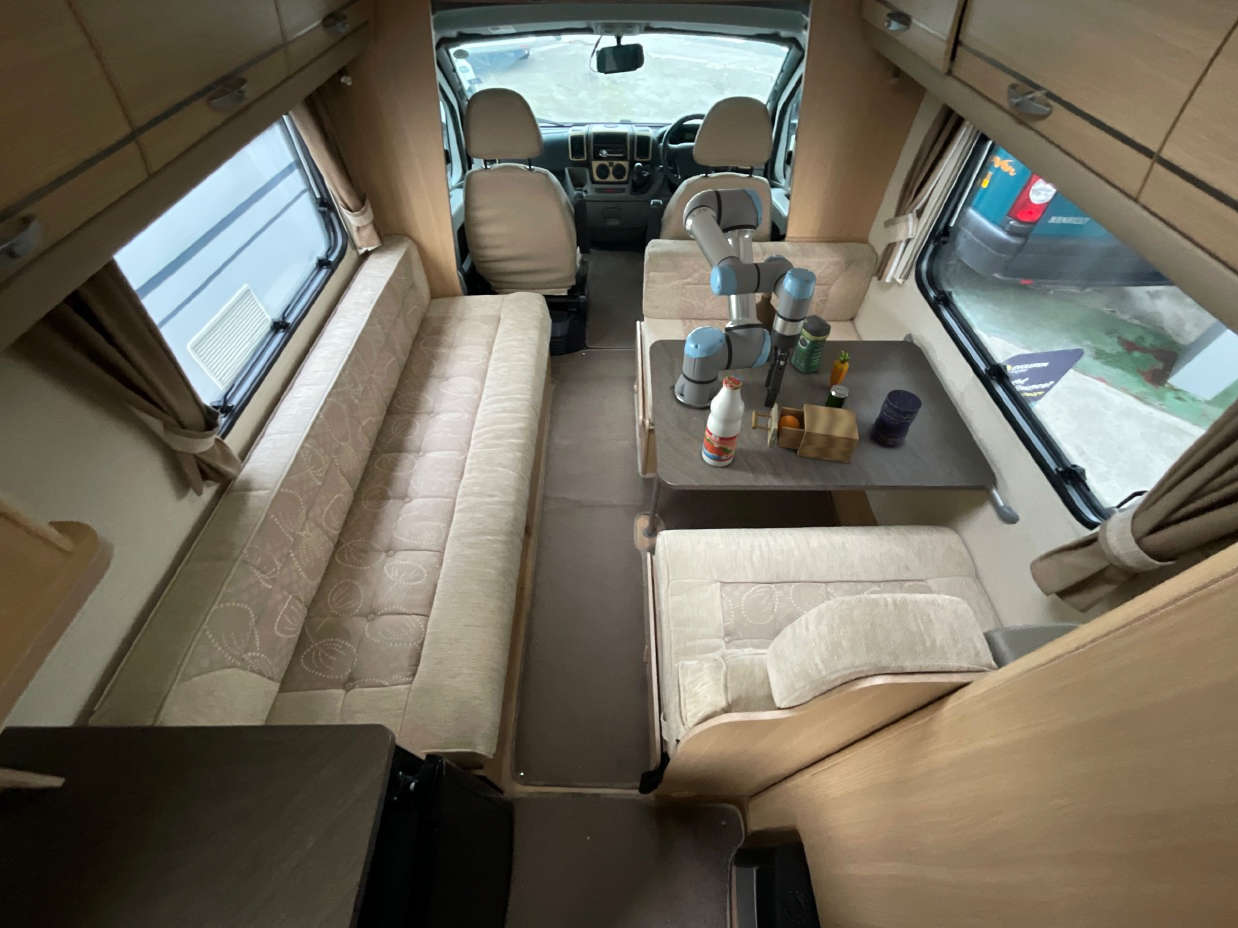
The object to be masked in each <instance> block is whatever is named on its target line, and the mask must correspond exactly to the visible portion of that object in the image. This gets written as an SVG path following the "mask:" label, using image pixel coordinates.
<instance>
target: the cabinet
mask: <svg viewBox="0 0 1238 928" xmlns="http://www.w3.org/2000/svg"><path fill="white" fill-rule="evenodd" d="M824 406H825V405H824ZM824 406H823V405H816V404H810V403H809V404H808V403H804V404H803V406H802V410H804V420H805V433H804V436H803V439H802V442H801V445H800V448H799V449H796V452H797V457H803V458H804V457H805V458H812V459H818V460H823V461H824V460H825V461H831V462H836V463H837V462H838V463H844V464H849V463H850V460H851V459H852V455H853V453H854V451H855V449H856V447H857V445H858V442H859V440H860V438H859V437H860V436H859V430H858V424H857V416H856V410H853V409H852V410H851V409H845V408H843V409H838V408H831V407H824Z"/></svg>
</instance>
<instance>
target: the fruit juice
mask: <svg viewBox="0 0 1238 928" xmlns="http://www.w3.org/2000/svg"><path fill="white" fill-rule="evenodd" d="M742 387H743V380H742V379H741V378H740V377H738V376H737V375H736V376H735V375H727V376H725V377H724V378H723V381H722V387H721V388H722V389H721V388H720V389H721V391H720V392H719V393H718V395H716V396H715V397H714V399H713V400H712V403H711V407H710V414H709V415H708V418H707V421H706V427H705V431H704V432H705V433H704V438H703V443H702V449H701V456H702V459H703V461H704V462H705V463H707V464H709V465H710V466H714V467H721V468H722V467H726V466H728V465H730V464H731V463H732V461H733V460H734V458H735V457H734V456H735V452H736V449H737V445H738V440H739V437H740V432H741V429H742V417H743V415H744V413H745V402H744V400H743V398H742V395H741V389H742Z"/></svg>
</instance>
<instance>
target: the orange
mask: <svg viewBox="0 0 1238 928" xmlns="http://www.w3.org/2000/svg"><path fill="white" fill-rule="evenodd" d="M782 426H783V427H790V428H797V429H799V428H800V424H799V421H798V420H797V419H796V418H795V417H794V416H790V415H787V416H784V417H782V418H781V419H780V420H779V422H778V431H779V433H780V432H781V429H782Z"/></svg>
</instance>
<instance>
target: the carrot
mask: <svg viewBox="0 0 1238 928" xmlns="http://www.w3.org/2000/svg"><path fill="white" fill-rule="evenodd" d="M840 354H841V355H838V358H839V359H837V360H834V363H833V365H832V368H831V372H830V377H829V387H830V389H831V388H832V387H833V386H834V385H841V384H842V382H843V380H844V379H845V377H846V375H847V372H848V370H849V366H850V365H849V363H848V361H849V360H851V357H850V356H849V354H848V352H844V350H841V351H840Z"/></svg>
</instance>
